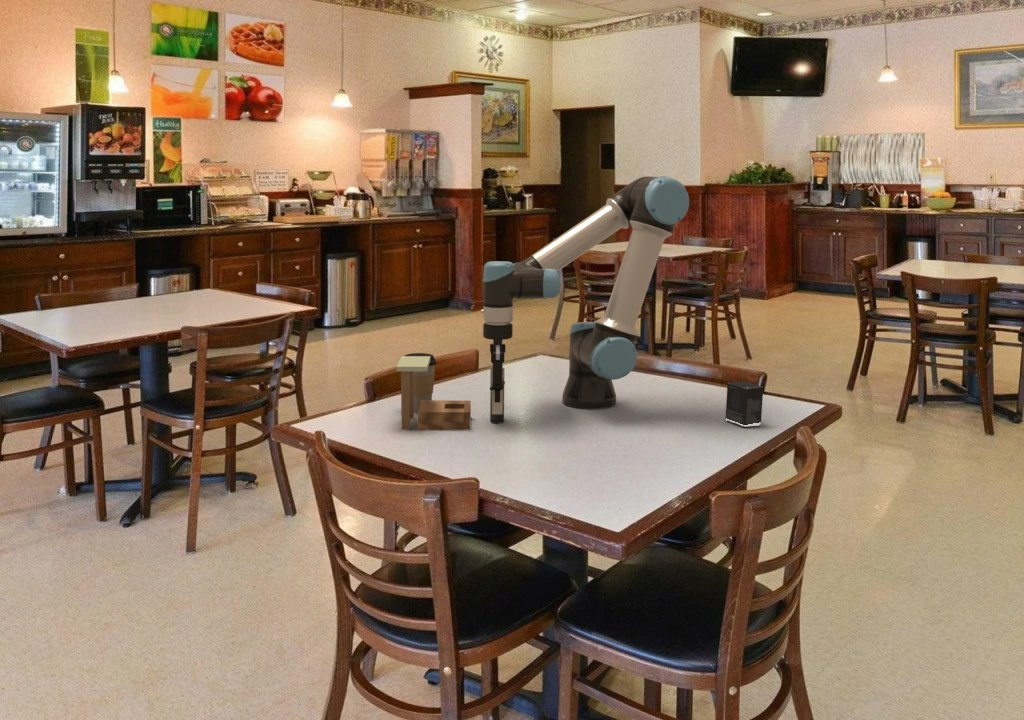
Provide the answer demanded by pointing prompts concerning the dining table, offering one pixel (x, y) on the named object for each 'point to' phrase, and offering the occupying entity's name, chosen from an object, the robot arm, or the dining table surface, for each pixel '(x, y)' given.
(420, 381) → the coffee cup
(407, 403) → the capped wooden post
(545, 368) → the dining table surface
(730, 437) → the dining table surface
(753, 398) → the box
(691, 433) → the dining table surface
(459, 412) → the socket
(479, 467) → the dining table surface
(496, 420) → the peg
